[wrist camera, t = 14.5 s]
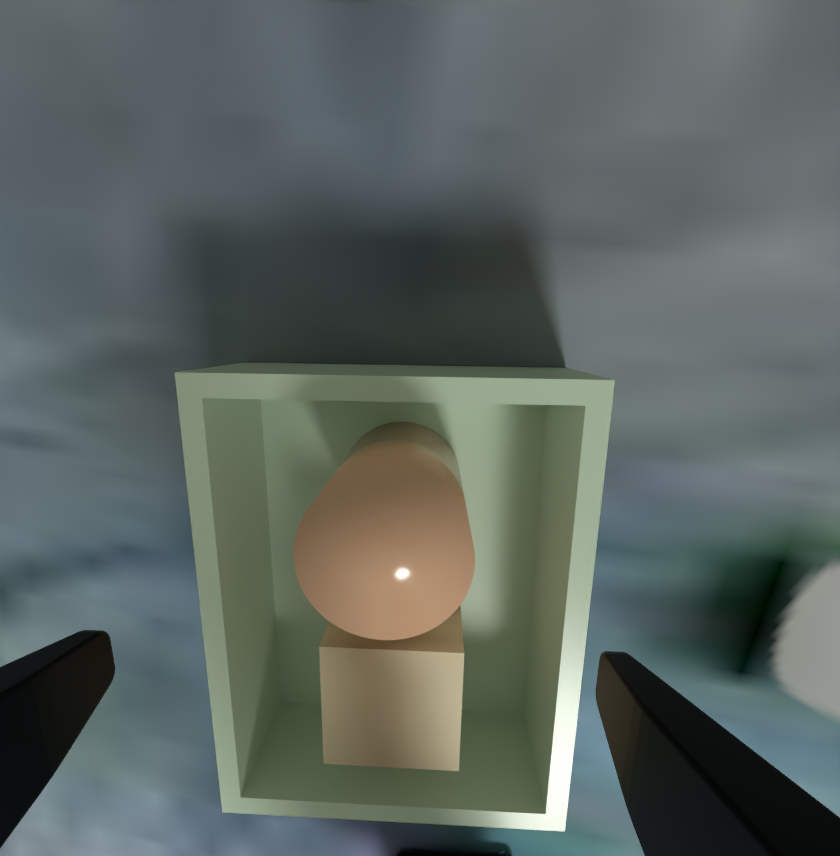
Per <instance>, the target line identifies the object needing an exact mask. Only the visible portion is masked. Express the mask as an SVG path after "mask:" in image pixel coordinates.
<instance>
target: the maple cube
mask: <svg viewBox="0 0 840 856" xmlns="http://www.w3.org/2000/svg"><path fill="white" fill-rule="evenodd" d="M319 656H320V683H321V709H322V736H323V762H324V764H336V765H354V766H372V767H391V768H409V769H427V770H446V771H459V758H460V737H461V715H462V694H463V672H464V643H463V631H462V619H461V607H460V606H459V607H458V608H457V610H456V611H455V612H454V613H453V614H452V615H451V616H450V617H449V618H448V619H447V620H445V621H444V622H443V623H441V624H440V625H438V626H437V627H435V628H433V629H431V630H430V631H428V632H425V633H423V634H420V635H418V636H414V637H410V638H406V639H399V640H376V639H369V638H365V637H360V636H357V635H354V634H351V633H349V632H347V631H345V630H343V629H340V628H339V627H337V626H335V625H334V624H332V623H331V622H328V625H327V627H326V630H325V633H324V635H323V638H322V641H321V643H320V646H319Z"/></svg>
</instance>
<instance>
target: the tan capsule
mask: <svg viewBox="0 0 840 856" xmlns="http://www.w3.org/2000/svg"><path fill="white" fill-rule="evenodd" d="M293 560H294V568H295V572H296V576H297V579H298V582H299V584H300V587H301V589H302V591H303V592H304V594H305V596H306V598H307V599H308V601H309V602H310V603H311V604H312V606H313V607H314V608H315V609H316V610H317V611H318V612H319V613H320V614H321V615H322V616H323V617H324V618H326V619H327V620H328V621H329V622H331V623H332V624H334V625H335V626H337V627H339V628H340V629H343V630H345V631H347V632H349V633H351V634H354V635H357V636H360V637H365V638H369V639H376V640H399V639H406V638H410V637H414V636H418V635H420V634H423V633H425V632H428V631H430V630H431V629H433V628H435V627H437V626H438V625H440V624H441V623H443V622H444V621H445V620H447V619H448V618H449V617H450V616H451V615H452V614H453V613H454V612H455V611H456V610H457V608H458V607H459V606H460V605H461V603H462V602H463V600H464V598H465V597H466V595H467V593H468V590H469V588H470V586H471V583H472V579H473V575H474V568H475V551H474V545H473V540H472V534H471V529H470V524H469V518H468V513H467V508H466V502H465V497H464V492H463V486H462V481H461V476H460V470H459V465H458V462H457V459H456V456H455V454H454V452H453V450H452V449H451V447H450V446H449V444H448V443H447V442H446V441H445V440H444V439H443V438H442V437H441V436H440V435H439V434H437V433H436V432H435V431H433V430H431V429H429V428H428V427H426V426H423V425H420V424H417V423H412V422H403V421H402V422H391V423H386V424H383V425H380V426H378V427H376V428H374V429H372V430H370V431H369V432H367V433H366V434H365V435H364V436H362V437H361V438H360V439H359V441H358V442H357V443H356V444H355V446H354V447H353V448H352V450H351V451H350V452H349V454H348V455H347V456H346V458H345V459H344V461H343V462H342V463H341V465H340V466H339V467H338V469H337V470H336V471H335V473H334V474H333V476H332V477H331V478H330V480H329V481H328V482H327V484H326V485H325V486H324V488H323V489H322V491H321V492H320V493H319V495H318V496H317V497H316V499H315V500H314V501H313V503H312V504H311V506H310V507H309V508H308V510H307V511H306V513H305V514H304V516H303V518H302V520H301V522H300V524H299V526H298V529H297V532H296V536H295V541H294V547H293Z"/></svg>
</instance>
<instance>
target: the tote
mask: <svg viewBox="0 0 840 856" xmlns="http://www.w3.org/2000/svg"><path fill="white" fill-rule="evenodd" d="M175 381H176V390H177V399H178V409H179V418H180V427H181V436H182V445H183V454H184V464H185V473H186V482H187V491H188V500H189V509H190V519H191V528H192V537H193V546H194V555H195V565H196V574H197V583H198V592H199V601H200V610H201V620H202V629H203V638H204V647H205V656H206V666H207V675H208V684H209V693H210V702H211V711H212V721H213V730H214V739H215V748H216V757H217V767H218V776H219V785H220V794H221V803H222V812H226V813H244V814H262V815H280V816H298V817H315V818H333V819H351V820H369V821H387V822H405V823H423V824H441V825H459V826H477V827H495V828H513V829H531V830H549V831H565V825H566V816H567V807H568V798H569V789H570V780H571V771H572V762H573V753H574V744H575V735H576V726H577V717H578V708H579V699H580V690H581V681H582V672H583V663H584V654H585V645H586V636H587V627H588V618H589V609H590V600H591V591H592V582H593V573H594V564H595V555H596V546H597V537H598V528H599V519H600V510H601V501H602V492H603V483H604V474H605V465H606V456H607V447H608V438H609V429H610V420H611V411H612V402H613V393H614V384H615V380H613V379H609V378H605V377H601V376H597V375H593V374H589V373H585V372H581V371H577V370H573V369H569V368H553V367H493V366H432V365H372V364H311V363H251V362H244V363H237V364H230V365H223V366H216V367H209V368H202V369H195V370H188V371H181V372H175ZM402 421H403V422H412V423H417V424H420V425H423V426H426V427H428V428H429V429H431V430H433V431H435V432H436V433H437V434H439V435H440V436H441V437H442V438H443V439H444V440H445V441H446V442H447V443H448V444H449V446H450V447H451V449H452V450H453V452H454V454H455V456H456V459H457V462H458V465H459V470H460V476H461V481H462V486H463V492H464V497H465V502H466V508H467V513H468V518H469V524H470V529H471V534H472V540H473V545H474V551H475V568H474V575H473V579H472V583H471V586H470V588H469V590H468V593H467V595H466V597H465V598H464V600H463V602H462V603H461V605H460V607H461V619H462V631H463V643H464V672H463V694H462V715H461V737H460V758H459V771H446V770H427V769H409V768H391V767H372V766H354V765H336V764H324V762H323V736H322V709H321V683H320V656H319V646H320V643H321V641H322V638H323V635H324V633H325V630H326V627H327V625H328V622H329V621H328V620H327V619H326V618H324V617H323V616H322V615H321V614H320V613H319V612H318V611H317V610H316V609H315V608H314V607H313V606H312V604H311V603H310V602H309V601H308V599H307V598H306V596H305V594H304V592H303V591H302V589H301V587H300V584H299V582H298V579H297V576H296V572H295V568H294V560H293V547H294V541H295V536H296V532H297V529H298V526H299V524H300V522H301V520H302V518H303V516H304V514H305V513H306V511H307V510H308V508H309V507H310V506H311V504H312V503H313V501H314V500H315V499H316V497H317V496H318V495H319V493H320V492H321V491H322V489H323V488H324V486H325V485H326V484H327V482H328V481H329V480H330V478H331V477H332V476H333V474H334V473H335V471H336V470H337V469H338V467H339V466H340V465H341V463H342V462H343V461H344V459H345V458H346V456H347V455H348V454H349V452H350V451H351V450H352V448H353V447H354V446H355V444H356V443H357V442H358V441H359V439H360V438H361V437H362V436H364V435H365V434H366V433H367V432H369V431H370V430H372V429H374V428H376V427H378V426H380V425H383V424H386V423H391V422H402Z"/></svg>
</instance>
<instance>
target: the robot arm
mask: <svg viewBox="0 0 840 856" xmlns="http://www.w3.org/2000/svg"><path fill="white" fill-rule="evenodd" d="M114 673H115V664H114V658H113V652H112V647H111V641H110V636H109V635H108V633H107V632H105V631H96V630H84V631H80V632H77V633H75V634H73V635H71V636H68V637H66V638H64V639H62V640H60V641H57V642H55V643H53V644H51V645H48V646H46V647H44V648H42V649H40V650H37V651H35V652H33V653H31V654H28V655H26V656H24V657H22V658H20V659H17V660H15V661H13V662H11V663H8V664H6V665H4V666H2V667H0V848H1V847H2V845H3V844H4V842H5V841H6V840H7V838H8V837H9V836H10V834H11V833H12V832H13V830H14V829H15V827H16V826H17V825H18V823H19V822H20V821H21V819H22V818H23V817H24V815H25V814H26V812H27V811H28V810H29V808H30V807H31V806H32V804H33V803H34V801H35V800H36V799H37V797H38V796H39V795H40V793H41V792H42V790H43V789H44V788H45V786H46V785H47V783H48V782H49V780H50V779H51V778H52V776H53V775H54V773H55V772H56V770H57V769H58V767H59V765H60V764H61V762H62V761H63V759H64V758H65V756H66V755H67V753H68V751H69V750H70V748H71V747H72V745H73V743H74V742H75V740H76V739H77V737H78V735H79V734H80V732H81V731H82V729H83V727H84V726H85V724H86V723H87V721H88V719H89V718H90V716H91V715H92V713H93V711H94V710H95V708H96V707H97V705H98V703H99V702H100V700H101V699H102V697H103V695H104V694H105V692H106V691H107V689H108V687H109V686H110V684H111V682H112V680H113V677H114ZM596 700H597V705H598V709H599V713H600V716H601V720H602V723H603V727H604V730H605V734H606V737H607V741H608V744H609V748H610V751H611V755H612V758H613V762H614V765H615V769H616V772H617V776H618V779H619V783H620V786H621V790H622V793H623V796H624V800H625V803H626V806H627V809H628V812H629V815H630V817H631V820H632V823H633V826H634V828H635V831H636V834H637V836H638V839H639V841H640V844H641V847H642V849H643V852H644V854H645V856H840V818H839V817H838V816H837V815H836V814H834V813H833V812H832V811H830V810H829V809H828V808H827V807H825V806H824V805H823V804H821V803H820V802H819V801H818V800H816V799H815V798H814V797H812V796H811V795H810V794H808V793H807V792H806V791H805V790H803V789H802V788H801V787H799V786H798V785H797V784H796V783H794V782H793V781H792V780H790V779H789V778H788V777H787V776H785V775H784V774H783V773H781V772H780V771H779V770H778V769H776V768H775V767H774V766H772V765H771V764H770V763H768V762H767V761H766V760H765V759H763V758H762V757H761V756H759V755H758V754H757V753H756V752H754V751H753V750H752V749H750V748H749V747H748V746H747V745H745V744H744V743H743V742H741V741H740V740H739V739H738V738H736V737H735V736H734V735H732V734H731V733H730V732H728V731H727V730H726V729H725V728H723V727H722V726H721V725H719V724H718V723H717V722H716V721H714V720H713V719H712V718H710V717H709V716H708V715H707V714H705V713H704V712H703V711H701V710H700V709H699V708H698V707H696V706H695V705H694V704H692V703H691V702H690V701H688V700H687V699H686V698H685V697H683V696H682V695H681V694H679V693H678V692H677V691H676V690H674V689H673V688H672V687H670V686H669V685H668V684H667V683H665V682H664V681H663V680H661V679H660V678H659V677H658V676H656V675H655V674H654V673H652V672H651V671H650V670H648V669H647V668H646V667H645V666H643V665H642V664H641V663H639V662H638V661H637V660H636V659H634V658H633V657H632V656H630V655H629V654H627V653H625V652H611V651H605V652H603V653H602V654H601V656H600V660H599V668H598V676H597V684H596ZM397 856H475V855H458V854H441V853H424V852H406V851H404V852H400V853H398V854H397Z"/></svg>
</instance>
